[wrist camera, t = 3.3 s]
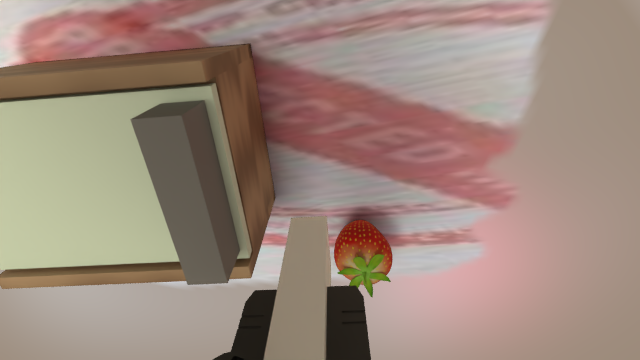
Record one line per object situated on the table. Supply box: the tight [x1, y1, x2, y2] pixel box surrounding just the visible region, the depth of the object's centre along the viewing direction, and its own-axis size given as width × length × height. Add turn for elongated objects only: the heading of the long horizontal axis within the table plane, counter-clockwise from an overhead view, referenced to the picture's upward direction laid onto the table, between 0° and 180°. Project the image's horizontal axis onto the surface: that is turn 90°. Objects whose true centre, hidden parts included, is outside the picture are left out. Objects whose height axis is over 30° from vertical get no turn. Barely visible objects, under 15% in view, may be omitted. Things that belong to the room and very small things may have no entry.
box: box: [0, 44, 275, 289], centre depth 25 cm, size 14×18×11 cm
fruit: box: [334, 220, 392, 297], centre depth 30 cm, size 5×5×8 cm
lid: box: [0, 83, 252, 285], centre depth 19 cm, size 11×18×4 cm, turn 95°
